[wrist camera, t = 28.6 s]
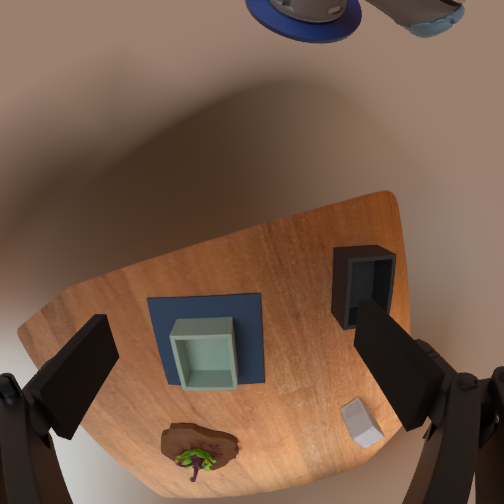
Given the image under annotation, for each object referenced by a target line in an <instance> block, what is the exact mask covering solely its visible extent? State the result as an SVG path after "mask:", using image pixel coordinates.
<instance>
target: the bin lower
mask: <svg viewBox="0 0 504 504" xmlns="http://www.w3.org/2000/svg"><path fill="white" fill-rule="evenodd" d="M395 265H396V254H394V253H392V252H390V251H388V250H386V249H384V248H382V247H380V246H378V245H366V246H351V247H336V248H334V253H333V286H332V305H331V312H332V314H333V315H334V317H335V318H336V320H337V321H338V323H339V324H340V326H341V327H342V329H343V330H347V329H354V328H356V323H357V314H358V304H359V300H365V299H373V300H374V301H375V302H376V303H377V304H378V305H379V306H380V307H381V308H382V309H383V310H384V311H385V312H386V313H387V314H388V315H389V314H390V307H391V300H392V293H393V285H394V276H395Z"/></svg>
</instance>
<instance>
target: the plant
mask: <svg viewBox="0 0 504 504" xmlns="http://www.w3.org/2000/svg"><path fill="white" fill-rule="evenodd" d="M161 452H162V454H164V455H165V456H167V457H168V458H170V459H171V460H173V461H175V463H176V464H177V465H178V466H180V467H185V468H191V467H192V468H194V477H191V478H190V481H191V482H195V480H196V477H197V472H198V470H200V469H205V470H207V471H210V470H215V469H218V468H220V467H223V466H225V465H226V464H227V463H228V462H229V460H231V459H234V458H236V455H237V454H238V446H237V439H236V438H235V437H234V436H232V435H230V434H228V433H224V432H218V431H212V430H208V429H205V428H202V427H199V426H197V425H195V424H187V423H179V424H173V423H172V424H171V426H170V429H168V430H164V431H163V433H162V436H161ZM181 464H183V465H181Z"/></svg>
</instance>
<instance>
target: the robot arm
mask: <svg viewBox="0 0 504 504" xmlns="http://www.w3.org/2000/svg"><path fill="white" fill-rule="evenodd" d="M366 1H367V2H369V3H371V4H372V5H374V6H375V7H376V8H378V9H379V10H381V11H382V12H384V13H385V14H386V15H388V16H389V17H391V18H392V19H393V20H394V21H395V22H396V23H397V24H399V25H400V26H403V27H404V28H405V29H407V30H408V31H409V32H411V33H412V34H413V35H416V36H418V37H422V38H426V37H432V36H435V35H437V34H440V33H442V32H444V31H446V30H448V29H449V28H450V27H452V25H453V24H455V23H457V22H458V21H459V20H460V19H461V18H462V16H463V15H464V7H463V5H462V3H463V2H465V0H366ZM268 2H269V4H270V5H271V6H272V7H273V8H274V9H275V10H276V11H277V12H279V13H280V14H282V15H284V16H285V17H287V18H290V19H292V20H295V21H298V22H302V23H307V24H327V23H331V22H333V21H335V20H337V19H338V18H340V16H341V15H342V14H343V12H344V10H345V8H346V3H347V0H268ZM354 347H355V348H356V350H357V352H358V353H359V355H360V356H361V358H362V359H363V361H364V363H365V364H366V366H367V367H368V369H369V370H370V372H371V374H372V375H373V377H374V378H375V380H376V382H377V383H378V385H379V387H380V388H381V390H382V391H383V393H384V395H385V396H386V398H387V400H388V401H389V403H390V405H391V406H392V408H393V409H394V411H395V413H396V414H397V416H398V418H399V420H400V421H401V423H402V425H403V426H404V428H405V430H406V431H410V430H413V429H415V428H417V427H420V426H422V425H423V424H424V422H425V420H426V418H427V416H428V417H429V418H430V420H431V421H432V422H431V424H430V426H429V427H428V429H427V431H426V433H425V434H424V436H423V439H425V437H426V439H425V443H424V446H423V450H422V453H421V456H420V459H419V462H418V465H417V468H416V471H415V473H414V476H413V479H412V481H411V484H410V487H409V489H408V491H407V494H406V496H405V498H404V500H403V503H402V504H467V502H468V498H469V494H470V490H471V485H472V481H473V476H474V470H475V489H476V504H504V366H501V367H497V368H496V369H495V370H494V372H493V374H492V376H491V378H488V379H482V380H478V379H477V377H476V376H474V375H472V374H470V373H457V372H456V371H455V370H454V369H453V368H452V367H451V366H450V365H449V364H448V363H447V362H446V361H445V360H444V359H443V358H442V357H441V356H440V355H439V354H438V353H437V352H436V351H435V350H434V349H433V348H432V347H431V346H430V345H429V344H428V343H426V342H424V341H422V340H420V339H417V340H413V339H412V338H411V336H410V335H409V334H408V333H407V332H406V331H405V330H404V329H403V328H402V327H401V326H400V325H399V324H398V323H397V322H396V321H395V320H394V319H393V318H391V317H390V316H389V315H388V314H387V313H386V312H385V311H384V310H383V309H382V308H381V307H380V306H379V305H378V304H377V303H376V302H375V301H374V300H373V299H365V300H359V304H358V314H357V323H356V331H355V338H354ZM118 358H119V354H118V351H117V348H116V345H115V342H114V339H113V336H112V332H111V329H110V326H109V322H108V319H107V315H106V314H95V315H94V316H93V317H92V318H91V319H90V320H89V321H88V322H87V323H86V324H85V325H84V326H83V327H82V328H81V329H80V330H79V331H78V332H77V333H76V334H75V335H74V336H73V337H72V338H71V339H70V340H69V341H68V342H67V344H66V345H65V346H64V347H63V348H62V349H61V350H60V351H59V352H58V353H57V354H56V355H55V356H54V357H53V358H52V359H50V360H48V361H47V362H46V363H45V364H44V365H43V366H42V367H41V369H39V371H38V372H37V374H35V375H34V376H33V377H32V379H31V380H30V381H29V382H28V383H27V384H26V386H25V387H24V388H23V389H22V390H21V388H20V386H19V385H18V383H17V381H16V379H15V377H14V375H12V374H11V373H3V374H1V375H0V504H73V502H72V500H71V497H70V494H69V492H68V489H67V487H66V484H65V481H64V478H63V475H62V472H61V469H60V466H59V462H58V459H57V456H56V452H55V448H54V444H53V440H52V437H51V435H50V433H49V432H48V431H49V430H50V428H51V427H52V429H53V430H54V431H55V433H56V434H57V435H58V436H59V437H62V438H66V439H68V440H71V439H72V437H73V435H74V433H75V432H76V430H77V428H78V426H79V424H80V422H81V421H82V419H83V417H84V415H85V414H86V412H87V410H88V408H89V407H90V405H91V403H92V401H93V400H94V398H95V396H96V395H97V393H98V391H99V390H100V388H101V386H102V385H103V383H104V381H105V380H106V378H107V376H108V375H109V373H110V371H111V370H112V368H113V366H114V365H115V363H116V362H117V360H118ZM497 416H498V417H499V421H498V418H497Z"/></svg>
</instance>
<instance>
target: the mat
mask: <svg viewBox="0 0 504 504" xmlns="http://www.w3.org/2000/svg"><path fill="white" fill-rule="evenodd" d="M147 302H148V307H149V311H150V316H151V320H152V325H153V329H154V333H155V337H156V341H157V345H158V349H159V353H160V357H161V360H162V364H163V368H164V371H165V374H166V378H167V381H168V384H169V385H181V381H180V377H179V374H178V370H177V366H176V362H175V358H174V354H173V350H172V345H171V341H170V333H171V331H172V329H173V326H174V324H175V322H176V320H177V319H191V318H218V317H233V326H234V335H235V345H236V354H237V363H238V384H253V383H265V380H264V358H263V337H262V317H261V297H260V293H247V294H231V295H212V296H191V297H163V298H147Z"/></svg>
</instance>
